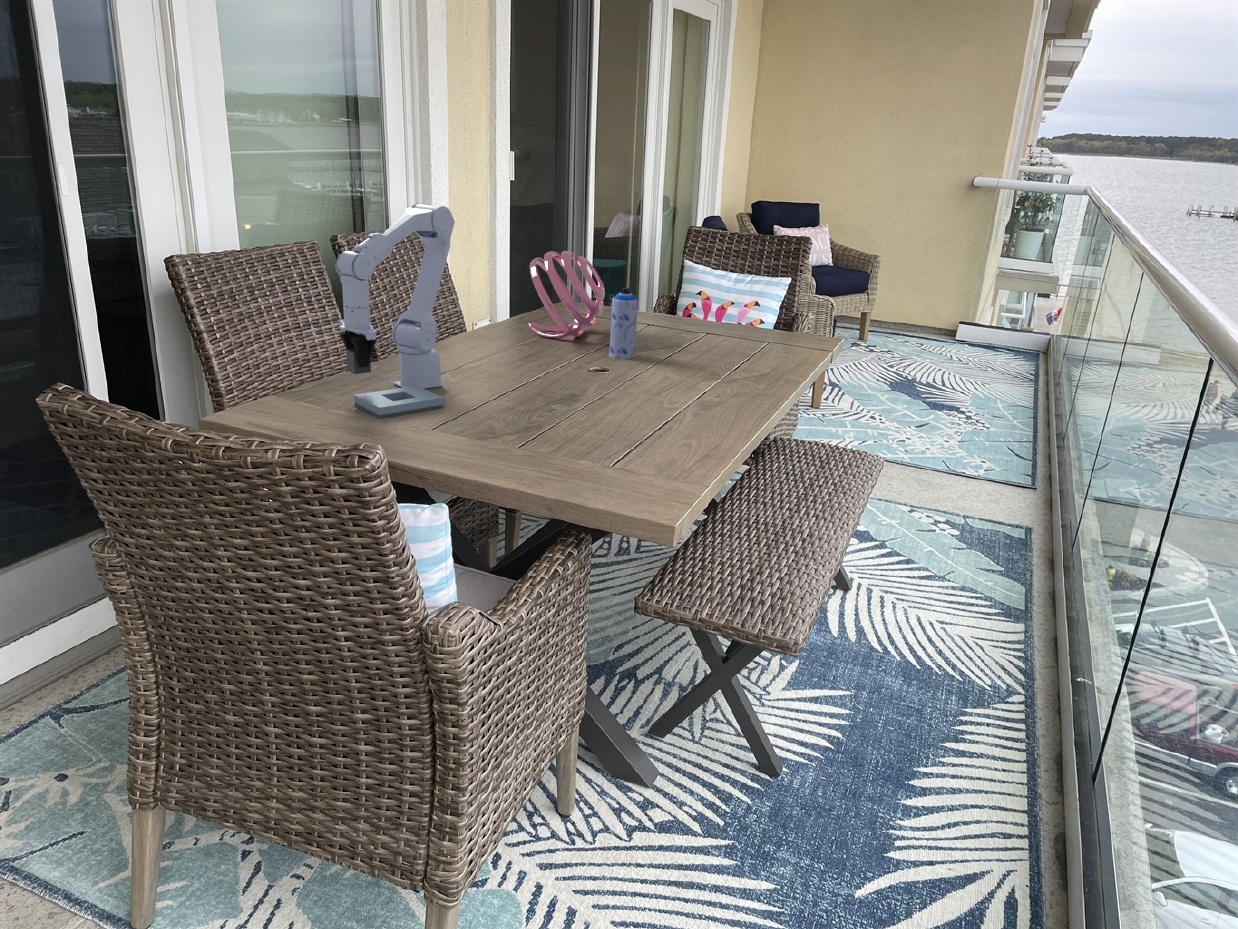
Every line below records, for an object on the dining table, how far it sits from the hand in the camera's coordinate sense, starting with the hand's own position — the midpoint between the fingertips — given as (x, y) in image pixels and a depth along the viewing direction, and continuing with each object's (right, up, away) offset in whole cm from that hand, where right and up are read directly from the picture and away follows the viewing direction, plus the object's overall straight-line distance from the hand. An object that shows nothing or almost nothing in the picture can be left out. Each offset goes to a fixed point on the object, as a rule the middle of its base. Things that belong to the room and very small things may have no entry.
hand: (359, 364), depth 207 cm
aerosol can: (+61, +9, +60) cm, 86 cm away
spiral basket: (+43, +18, +82) cm, 95 cm away
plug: (0, -1, 0) cm, 2 cm away
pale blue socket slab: (+9, -10, -1) cm, 14 cm away
